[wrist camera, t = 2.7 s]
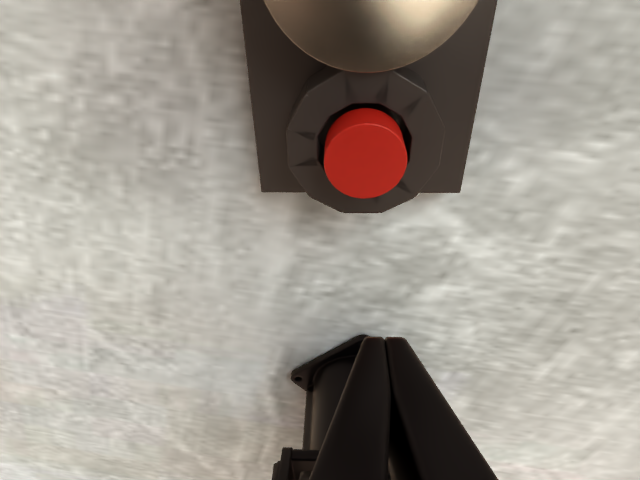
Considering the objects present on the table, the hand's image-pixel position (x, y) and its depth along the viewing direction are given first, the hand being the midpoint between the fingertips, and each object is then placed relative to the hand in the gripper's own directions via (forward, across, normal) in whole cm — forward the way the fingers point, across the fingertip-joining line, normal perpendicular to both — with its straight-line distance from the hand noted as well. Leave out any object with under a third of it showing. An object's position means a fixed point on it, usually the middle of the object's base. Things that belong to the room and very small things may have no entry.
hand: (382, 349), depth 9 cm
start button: (+10, 0, 0) cm, 10 cm away
